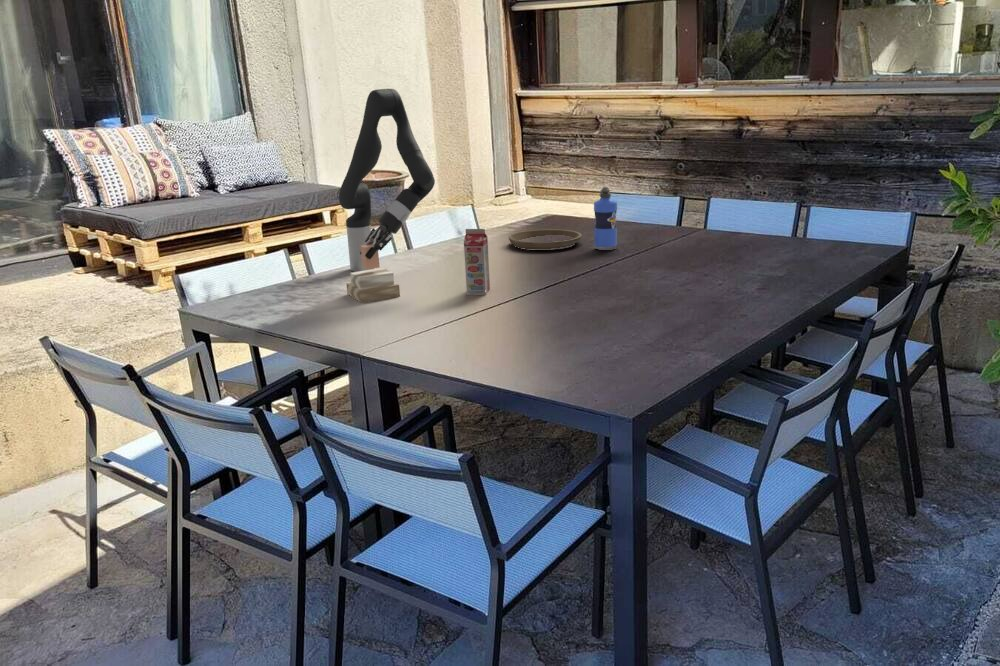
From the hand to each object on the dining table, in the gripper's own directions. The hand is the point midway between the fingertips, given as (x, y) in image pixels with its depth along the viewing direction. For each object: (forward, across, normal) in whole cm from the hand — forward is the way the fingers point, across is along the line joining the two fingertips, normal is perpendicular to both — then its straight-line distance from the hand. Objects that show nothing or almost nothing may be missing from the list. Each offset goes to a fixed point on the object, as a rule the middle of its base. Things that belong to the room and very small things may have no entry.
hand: (364, 256), depth 297 cm
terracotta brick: (+2, 0, +4) cm, 5 cm away
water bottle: (-66, -12, +86) cm, 110 cm away
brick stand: (+9, 0, +11) cm, 14 cm away
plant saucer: (-55, -35, +76) cm, 100 cm away
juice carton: (-13, +19, +33) cm, 41 cm away
